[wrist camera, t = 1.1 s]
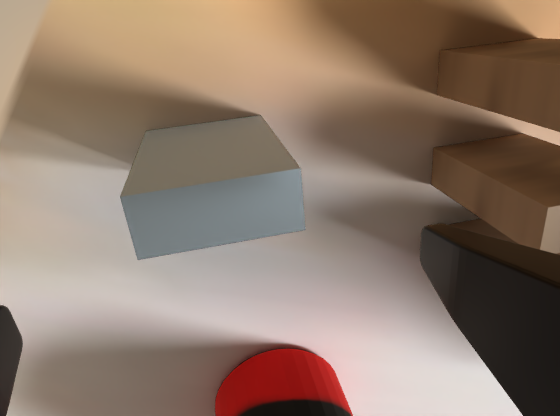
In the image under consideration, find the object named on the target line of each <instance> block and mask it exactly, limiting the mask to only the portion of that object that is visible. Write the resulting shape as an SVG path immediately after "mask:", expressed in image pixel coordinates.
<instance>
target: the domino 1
mask: <svg viewBox="0 0 560 416" xmlns="http://www.w3.org/2000/svg"><path fill="white" fill-rule="evenodd" d="M120 198H121V202H122V205H123V209H124V213H125V216H126V220H127V223H128V227H129V230H130V234H131V238H132V241H133V245H134V248H135V252H136V255H137V259H138V260H141V259H146V258H152V257H157V256H163V255H169V254H174V253H180V252H185V251H191V250H197V249H202V248H208V247H213V246H219V245H224V244H230V243H236V242H241V241H247V240H252V239H258V238H264V237H269V236H275V235H280V234H286V233H291V232H297V231H303V230H305V217H304V204H303V191H302V178H301V168H300V167H299V165H298V164H297V163H296V161H295V160H294V159H293V157H292V156H291V155H290V153H289V152H288V151H287V149H286V148H285V147H284V146H283V144H282V143H281V142H280V140H279V139H278V138H277V136H276V135H275V134H274V132H273V131H272V130H271V128H270V127H269V126H268V124H267V123H266V122H265V120H264V119H263V118H262V116H261V115H258V116H250V117H243V118H236V119H229V120H221V121H214V122H207V123H200V124H193V125H185V126H178V127H171V128H164V129H156V130H149V131H146V132H145V135H144V137H143V140H142V142H141V145H140V147H139V150H138V152H137V155H136V158H135V160H134V163H133V165H132V168H131V170H130V173H129V175H128V178H127V180H126V183H125V186H124V188H123V191H122V193H121V196H120Z"/></svg>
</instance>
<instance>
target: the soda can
mask: <svg viewBox="0 0 560 416" xmlns="http://www.w3.org/2000/svg"><path fill="white" fill-rule="evenodd" d="M215 414H216V416H353V415H352V412H351V410H350V407H349V405H348V402H347V400H346V398H345V395H344V393H343V390H342V388H341V386H340V383H339V381H338V378H337V376H336V373H335V371H334V370H333V368H332V367H331V365H330V364H329V363H327V362H326V361H325V360H324V359H323V358H321V357H319V356H317V355H316V354H313V353H310V352H307V351H303V350H299V349H290V348H287V349H275V350H270V351H266V352H263V353H260V354H258V355H255V356H253V357H251V358H249V359H248V360H246V361H244V362H243V363H242V364H240V365H239V366H238V367H236V368H235V369H234V370H233V371H232V372H231V373H230V374H229V375H228V377H227V378H226V379H225V380H224V382H223V383H222V385H221V387H220V388H219V390H218V393H217V396H216V402H215Z"/></svg>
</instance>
